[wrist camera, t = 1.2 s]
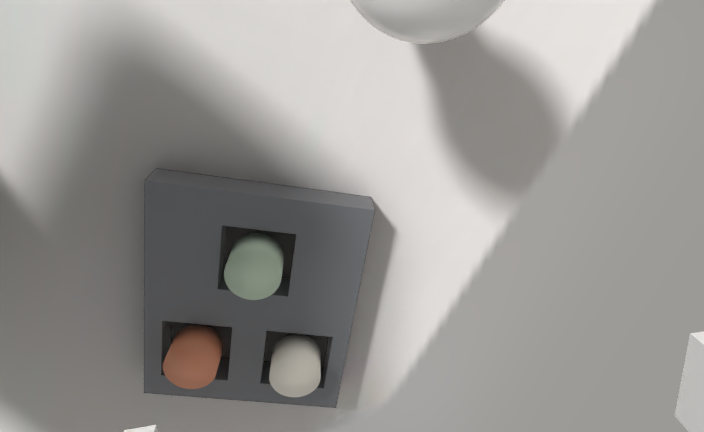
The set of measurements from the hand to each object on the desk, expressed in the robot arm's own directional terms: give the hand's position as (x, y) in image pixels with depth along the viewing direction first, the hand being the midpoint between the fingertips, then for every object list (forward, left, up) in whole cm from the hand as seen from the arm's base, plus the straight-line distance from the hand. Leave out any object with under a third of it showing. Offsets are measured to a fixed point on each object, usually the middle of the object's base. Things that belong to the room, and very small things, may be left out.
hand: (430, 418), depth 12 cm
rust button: (-9, -11, -16) cm, 21 cm away
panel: (-6, -8, -17) cm, 19 cm away
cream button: (-3, -11, -16) cm, 19 cm away
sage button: (-6, -5, -16) cm, 17 cm away
